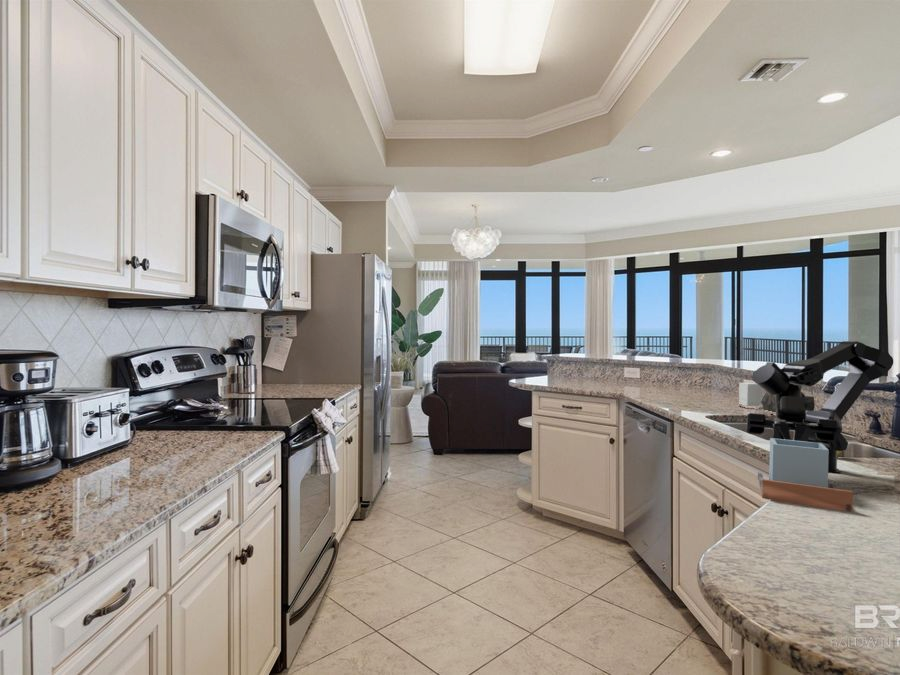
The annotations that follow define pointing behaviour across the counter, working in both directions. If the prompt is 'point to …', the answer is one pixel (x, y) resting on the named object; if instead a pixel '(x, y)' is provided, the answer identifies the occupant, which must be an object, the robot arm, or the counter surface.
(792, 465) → the box
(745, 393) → the supplement box
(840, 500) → the brown wooden tray
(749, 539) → the counter surface
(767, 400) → the owl
